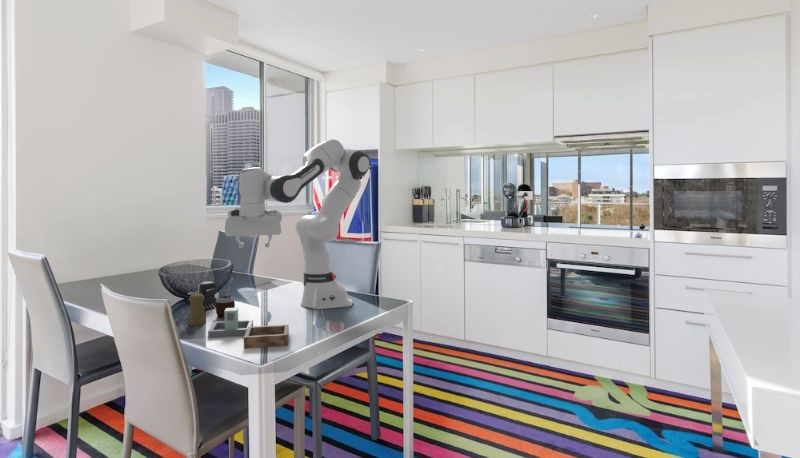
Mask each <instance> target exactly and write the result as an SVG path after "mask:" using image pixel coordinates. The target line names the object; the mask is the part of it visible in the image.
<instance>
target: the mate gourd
mask: <svg viewBox="0 0 800 458" xmlns="http://www.w3.org/2000/svg"><path fill="white" fill-rule="evenodd" d="M233 280H234V276H232V277H231V279H230V280H229V283H228V292H227V295H221V296H218V297H217V298H216V300H215V313H216V315H217V316H216V319H223V318H224V319H225V317H224V311H225V309H226V308H236V304H235V303H236V302H235V298H234V297H233V296H232V295H230V292H231V286H232V282H233Z"/></svg>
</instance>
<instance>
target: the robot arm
mask: <svg viewBox="0 0 800 458" xmlns="http://www.w3.org/2000/svg"><path fill="white" fill-rule="evenodd" d="M302 165H303V166H302V167H300V168H299V169H298V170H297V171H295V172H294V173H292V174H290V175H288V174H287V175H281V176H280V175H279V176H278V175H277V176H274V175H273V174H269V173H267V172H266V171H264V170H263V168H261V167H258V166H257V167H256V166H254V167H248V168H244V169H242V170H241V171H240V173H239V180H238V186H239V187H238V188H239V189H238V191H239V194H240V201H239V206H238V207H235V208H233V209H229V210H228V211H227V218H226V220H225V224H224V225H225V226H224V234H225V236H226V237H234V238H235V241H236V242H237V244H238V248H239V249H244V242H242V241H241V240H240V239H241V237H250V236H267V239H268V240H267V241H265V243H264V244H265V245H264V247H265V248H269V247H270V242H271V240H272V239H273V235H274V236H278V235H281V233H282V225H281V224H282V223H281V222H282V216H283V215H282V213H281V212H280V211H278V210H266V207H265V206H266V205H265V204H266V203H265V202H266V201H268V202H279V203H284V204H287V203H289V204H290V203H292V202H293V201H294V200H296V198H297V197H298V196H299V194H301V193H300V192H301V191H302V190H303V189H304V188H305V187H306V186H308V185H309V184H310V183H312V182H313V181H315V179H316V178H318V177H319V176H321V175H322V174H324V173H326V172H327V171H328V170H332V172H335V173H339V176H338V179H337V180H336V181H335V182H334V184H333V185H332V186H331V188H330V189H329V190H328V192H327V193H325V196H324V197H323V198H322V199H321V200H322V201H321V207H320V209H319V211H318V213H317V214H316V215H315V214H306V215H304V216H301V217H300V218H298V219H297V221H296V224H295V231H296V233H297V235H298V236H299V239H300V243H301V247H302V252H303V264H304V265H303V267H304V270H303V275H302V284H303V293H302V298H301V302H300V305H301V306H302V307H304V308H309V309H314V310H324V309H325V310H326V309H334V308H335V309H336V308H347V307H351V306H353V304H354V303H353V299H352V298H351V297H348V296H349V295H348V291H347V289H346V288H345V287H344V286H343V285H342V284H340V283H339V282H338V281H336V279H337V275H336V273H334V272H331V256H330V252H329V251H328V248H327V247H326V243H327V242H332V241H334V240H336V239H337V237H338V236H339V234H340V222H341V219H342V217H343V215H344V214H345V212H346V211H347V210H348V208H349V206H350V205H351V204H352V202H353V201H354V200H355V198H356V196H357V195H358V192H359V190H360V189H361V185H362V181H361V179H363V178H364V177H365V176H366V175H367V173H368V172H369V169H370V166H371V159H370V157H369V155H368V154H367V153H365V152H364V151H361V150H357V149H356V150H355V149H350V148H348V149H347V148H344V145H343V144H342V143H341V142H340V141H339V140H337V139H328V140H325V141H322V142H320V143H318V144H317V145H315V146H313V147H312V148H310V149H309V150H307V151H306V152H305V153H304V155H303V156H302Z"/></svg>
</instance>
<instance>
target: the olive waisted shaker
mask: <svg viewBox="0 0 800 458" xmlns="http://www.w3.org/2000/svg"><path fill="white" fill-rule="evenodd" d="M188 301H189V303H190V308H189V315H188V316H189V318H188V326H192V327H193V326H201V325H204V324H206V323H207V319H206V314H205V310H204V307H203V301H204V296H203V295H202V294H198V293H193V294H191V295H190V296H189V297H188Z"/></svg>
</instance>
